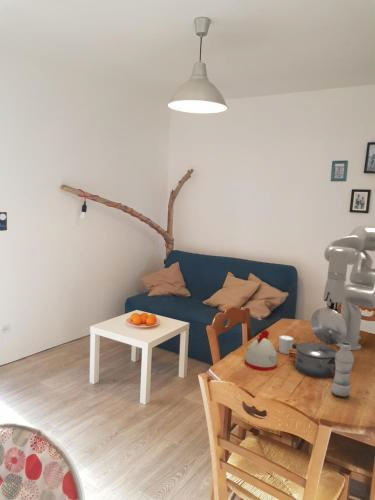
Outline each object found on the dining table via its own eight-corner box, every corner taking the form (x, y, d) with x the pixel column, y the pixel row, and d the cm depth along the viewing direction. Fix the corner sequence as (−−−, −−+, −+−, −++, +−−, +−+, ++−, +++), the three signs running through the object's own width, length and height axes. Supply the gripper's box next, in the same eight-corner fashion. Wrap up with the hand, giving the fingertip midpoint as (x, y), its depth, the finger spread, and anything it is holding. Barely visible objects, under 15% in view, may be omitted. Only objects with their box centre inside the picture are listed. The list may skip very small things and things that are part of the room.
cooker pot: (302, 356, 178) (304, 337, 177) (356, 376, 159) (358, 356, 158) (281, 364, 167) (283, 345, 166) (336, 388, 149) (338, 366, 147)
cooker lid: (309, 338, 175) (313, 336, 177) (344, 350, 163) (347, 347, 165) (311, 304, 172) (315, 302, 174) (346, 313, 160) (350, 311, 162)
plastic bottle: (327, 390, 146) (332, 340, 144) (344, 390, 147) (350, 340, 144) (335, 399, 140) (341, 346, 137) (353, 399, 141) (359, 347, 138)
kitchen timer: (282, 364, 168) (285, 331, 166) (266, 374, 158) (269, 339, 156) (255, 354, 177) (258, 323, 175) (238, 363, 167) (240, 330, 165)
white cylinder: (292, 355, 179) (294, 341, 178) (277, 353, 180) (279, 339, 179) (292, 349, 186) (293, 336, 185) (277, 348, 187) (278, 334, 186)
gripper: (337, 273, 175) (332, 312, 177) (319, 276, 165) (315, 317, 167) (353, 276, 169) (348, 317, 171) (336, 279, 159) (331, 322, 161)
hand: (332, 317), depth 169 cm, fingers closed
